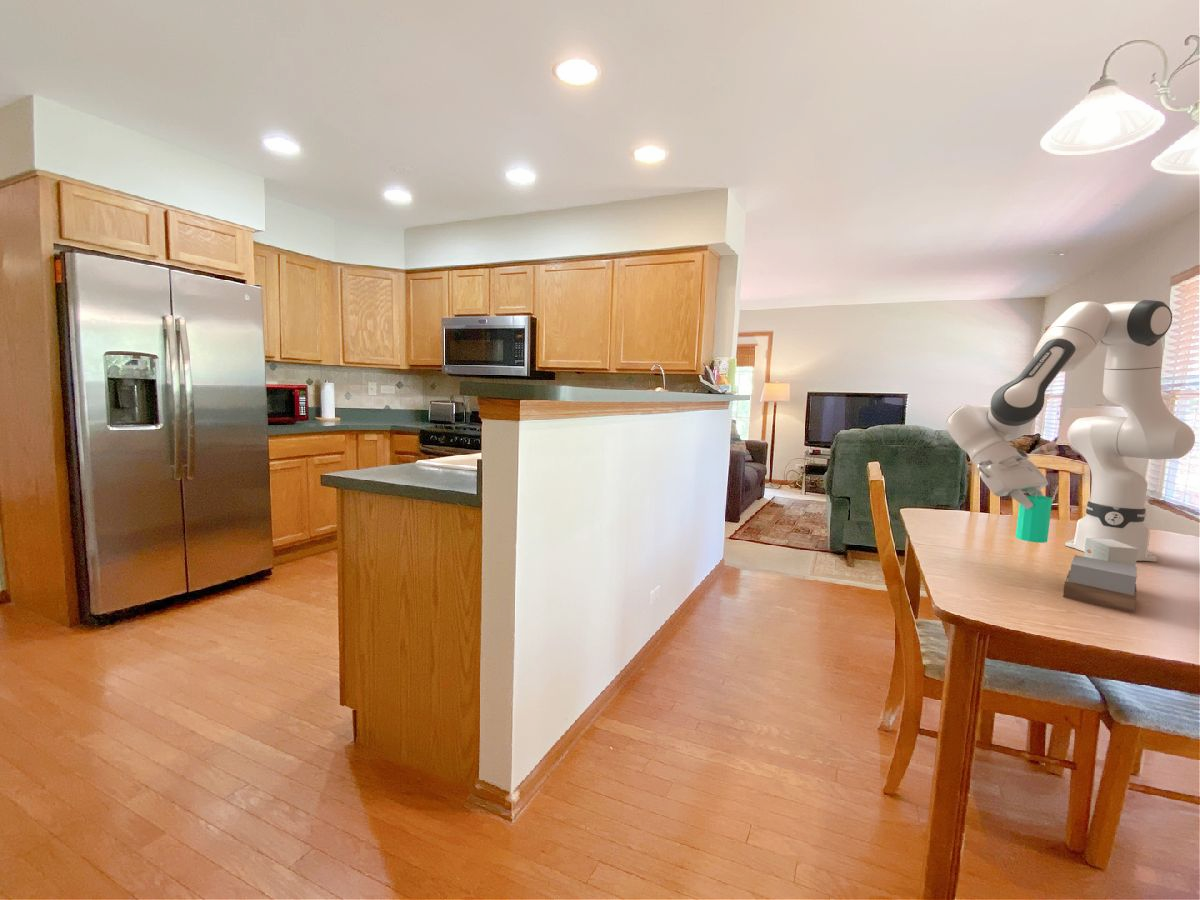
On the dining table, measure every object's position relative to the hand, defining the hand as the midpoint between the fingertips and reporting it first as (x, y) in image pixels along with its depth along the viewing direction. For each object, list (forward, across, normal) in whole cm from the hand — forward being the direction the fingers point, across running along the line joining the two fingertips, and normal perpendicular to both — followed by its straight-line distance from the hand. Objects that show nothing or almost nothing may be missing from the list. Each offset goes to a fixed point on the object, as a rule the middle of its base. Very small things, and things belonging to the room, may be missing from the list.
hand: (1038, 506), depth 126 cm
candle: (+6, 0, +6) cm, 8 cm away
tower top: (+20, -2, 0) cm, 20 cm away
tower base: (+22, -2, +3) cm, 23 cm away
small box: (+20, +10, +5) cm, 23 cm away
